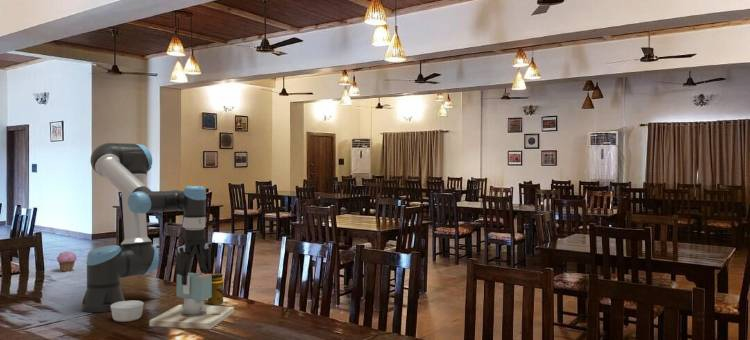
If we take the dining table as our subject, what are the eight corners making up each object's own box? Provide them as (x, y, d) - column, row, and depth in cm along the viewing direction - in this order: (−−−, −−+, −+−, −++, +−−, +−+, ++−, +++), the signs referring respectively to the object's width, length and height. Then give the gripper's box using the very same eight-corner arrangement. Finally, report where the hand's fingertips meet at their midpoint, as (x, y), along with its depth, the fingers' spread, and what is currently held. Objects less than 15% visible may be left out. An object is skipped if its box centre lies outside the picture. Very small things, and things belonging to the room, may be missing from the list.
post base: (149, 326, 192) (149, 319, 192) (179, 309, 214) (179, 303, 214) (210, 329, 189) (210, 322, 189) (234, 312, 211) (234, 306, 211)
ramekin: (122, 324, 194) (122, 309, 194) (103, 319, 200) (103, 304, 200) (150, 317, 203) (150, 303, 203) (131, 312, 209) (131, 298, 209)
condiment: (226, 304, 223) (226, 274, 223) (205, 307, 218) (205, 276, 218) (220, 300, 229) (221, 271, 229) (200, 303, 224) (200, 273, 224)
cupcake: (54, 271, 285) (54, 251, 285) (72, 268, 291) (72, 249, 291) (61, 273, 279) (61, 253, 279) (79, 271, 286) (79, 251, 285)
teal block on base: (174, 311, 201) (174, 274, 201) (188, 307, 207) (188, 270, 207) (199, 316, 196) (199, 277, 196) (213, 311, 202) (213, 273, 202)
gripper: (178, 231, 192) (177, 298, 192) (222, 227, 207) (221, 289, 207) (165, 229, 196) (164, 295, 196) (209, 225, 211) (209, 286, 211)
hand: (194, 292), depth 202 cm, fingers closed on teal block on base, 6 cm apart
